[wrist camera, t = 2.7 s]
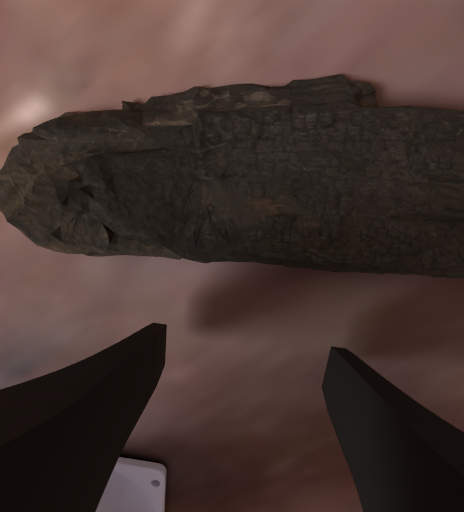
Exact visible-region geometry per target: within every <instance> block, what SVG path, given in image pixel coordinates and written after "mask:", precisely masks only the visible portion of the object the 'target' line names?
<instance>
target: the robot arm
mask: <svg viewBox="0 0 464 512" xmlns="http://www.w3.org/2000/svg"><path fill="white" fill-rule="evenodd" d="M166 328H167V325H166V324H158V323H152V324H150V325H148V326H146V327H144V328H143V329H141V330H139V331H137V332H136V333H134V334H132V335H130V336H129V337H127V338H125V339H123V340H122V341H120V342H118V343H116V344H114V345H112V346H110V347H108V348H106V349H104V350H102V351H101V352H99V353H97V354H95V355H93V356H91V357H88V358H86V359H84V360H82V361H80V362H77V363H75V364H73V365H70V366H68V367H65V368H63V369H60V370H58V371H55V372H52V373H49V374H47V375H44V376H41V377H38V378H35V379H32V380H29V381H27V382H24V383H21V384H17V385H14V386H11V387H7V388H4V389H1V390H0V512H165V492H166V472H167V471H166V468H165V467H164V465H162V464H160V463H155V462H148V461H142V460H136V459H130V458H123V457H119V456H120V454H121V452H122V450H123V448H124V446H125V444H126V442H127V440H128V438H129V436H130V434H131V432H132V431H133V429H134V427H135V425H136V423H137V421H138V420H139V418H140V416H141V414H142V412H143V410H144V409H145V407H146V405H147V403H148V401H149V399H150V397H151V396H152V394H153V392H154V390H155V388H156V386H157V383H158V381H159V379H160V376H161V374H162V371H163V368H164V366H165V351H166ZM322 389H323V394H324V398H325V402H326V406H327V410H328V413H329V416H330V419H331V421H332V424H333V427H334V429H335V432H336V435H337V437H338V440H339V442H340V445H341V448H342V450H343V453H344V455H345V458H346V461H347V463H348V466H349V469H350V471H351V474H352V477H353V479H354V482H355V485H356V488H357V491H358V494H359V498H360V501H361V505H362V508H363V512H464V432H462V431H460V430H459V429H457V428H456V427H454V426H452V425H451V424H449V423H448V422H446V421H445V420H443V419H442V418H440V417H438V416H437V415H435V414H434V413H432V412H431V411H429V410H428V409H426V408H425V407H423V406H422V405H420V404H419V403H418V402H416V401H415V400H413V399H412V398H411V397H409V396H408V395H406V394H405V393H404V392H402V391H401V390H400V389H398V388H397V387H396V386H394V385H393V384H392V383H390V382H389V381H388V380H386V379H385V378H384V377H382V376H381V375H380V374H379V373H377V372H376V371H375V370H374V369H372V368H371V367H370V366H368V365H367V364H366V363H365V362H363V361H362V360H361V359H360V358H358V357H357V356H356V355H354V354H353V353H352V352H350V351H349V350H347V349H346V348H338V347H331V349H330V354H329V358H328V362H327V367H326V371H325V376H324V380H323V384H322Z"/></svg>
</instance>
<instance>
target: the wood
mask: <svg viewBox="0 0 464 512" xmlns="http://www.w3.org/2000/svg"><path fill="white" fill-rule="evenodd" d="M122 104H123V108H122V110H106V111H92V112H85V113H81V114H76V113H73V112H67V113H64V114H63V115H61V116H60V117H58V118H55V119H52V120H49V121H47V122H44V123H42V124H40V125H38V126H36V127H34V128H33V131H32V132H30V133H25V134H22V135H21V136H19V137H18V138H17V139H18V142H19V145H17V146H15V147H13V148H12V149H11V151H10V153H9V154H8V157H7V159H6V162H5V164H4V166H3V167H2V168H1V170H0V211H1V212H2V213H3V214H4V216H5V218H6V220H7V222H9V223H10V224H12V225H13V226H15V227H16V228H18V229H19V230H20V231H21V232H22V233H23V234H24V235H25V236H26V237H28V238H29V239H30V240H31V241H32V242H34V243H35V244H36V245H37V246H40V247H44V248H47V249H50V250H53V251H56V252H62V253H67V254H85V255H87V256H112V255H134V256H155V257H166V258H173V259H181V258H184V259H188V260H192V261H197V262H202V263H210V262H225V261H231V262H258V263H264V264H273V265H284V266H287V267H296V268H310V269H317V270H325V271H333V272H363V273H379V274H384V273H397V274H418V275H427V276H432V277H446V278H464V111H457V110H449V109H438V108H425V107H412V106H404V107H377V102H376V96H375V88H374V87H373V86H372V85H371V84H370V83H366V82H361V81H348V80H347V79H346V78H345V77H344V76H343V75H342V74H340V75H334V76H328V77H323V78H317V79H312V80H293V81H291V82H290V83H289V84H287V85H286V86H280V87H269V86H263V85H256V84H238V85H228V86H221V87H215V88H210V89H208V88H202V87H193V88H191V89H189V90H187V91H185V92H181V93H176V94H172V95H168V96H157V97H151V98H150V99H149V100H148V101H147V102H146V103H145V104H144V105H142V104H138V103H132V102H126V101H122Z"/></svg>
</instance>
